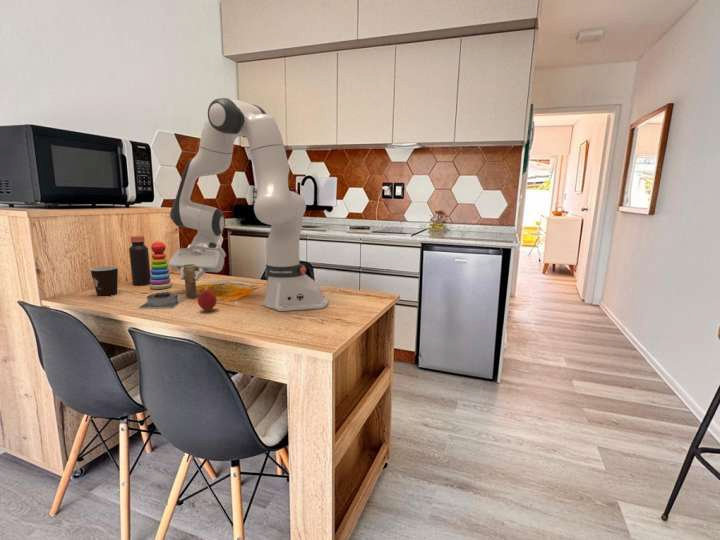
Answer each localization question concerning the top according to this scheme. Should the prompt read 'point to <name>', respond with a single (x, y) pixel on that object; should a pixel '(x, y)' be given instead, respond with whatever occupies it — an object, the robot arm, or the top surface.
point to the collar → (162, 300)
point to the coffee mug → (105, 280)
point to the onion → (207, 299)
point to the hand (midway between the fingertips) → (189, 279)
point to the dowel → (190, 281)
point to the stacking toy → (159, 267)
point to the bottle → (139, 261)
